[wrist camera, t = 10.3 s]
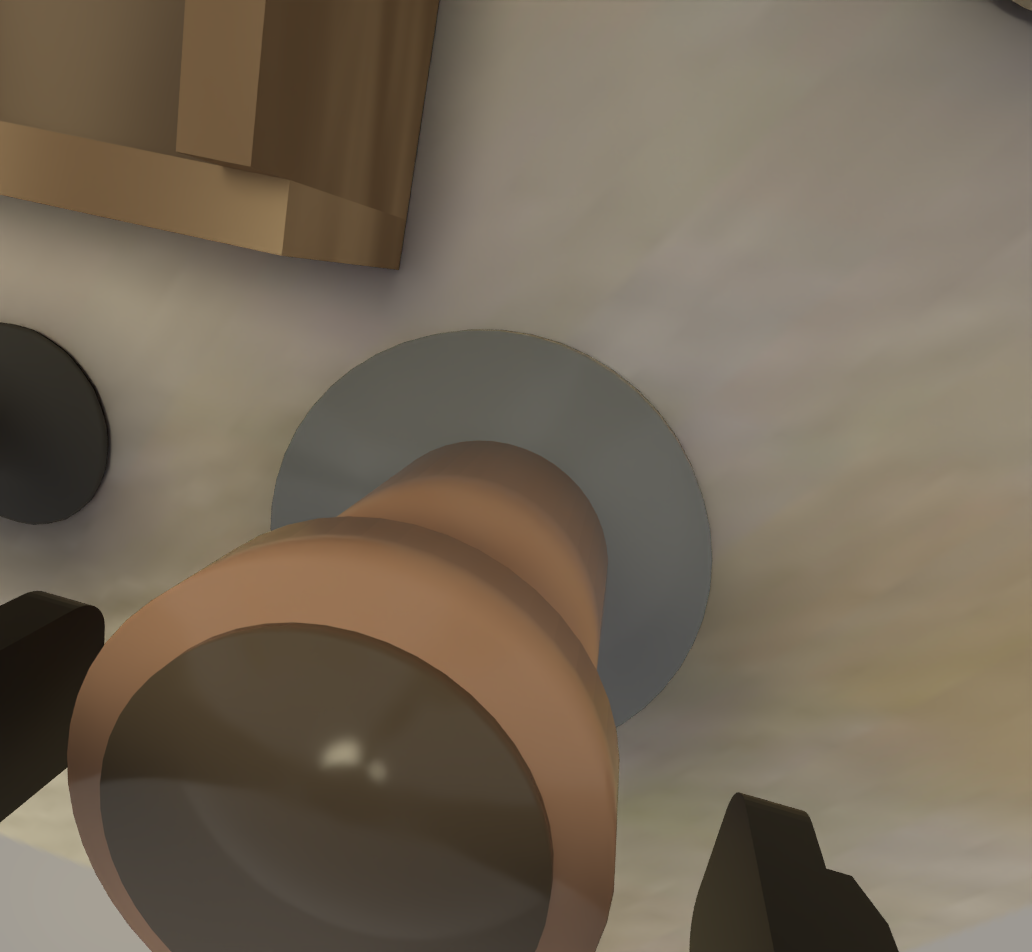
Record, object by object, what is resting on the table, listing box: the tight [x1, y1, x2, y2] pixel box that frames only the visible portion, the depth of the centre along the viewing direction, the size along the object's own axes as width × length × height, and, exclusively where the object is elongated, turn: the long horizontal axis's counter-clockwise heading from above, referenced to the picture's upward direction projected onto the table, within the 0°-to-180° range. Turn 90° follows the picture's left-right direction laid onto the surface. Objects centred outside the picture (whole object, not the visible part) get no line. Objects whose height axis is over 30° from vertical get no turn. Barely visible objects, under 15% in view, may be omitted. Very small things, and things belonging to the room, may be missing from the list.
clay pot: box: [67, 441, 619, 952], centre depth 11 cm, size 6×6×8 cm
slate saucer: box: [271, 329, 712, 727], centre depth 15 cm, size 10×10×1 cm
